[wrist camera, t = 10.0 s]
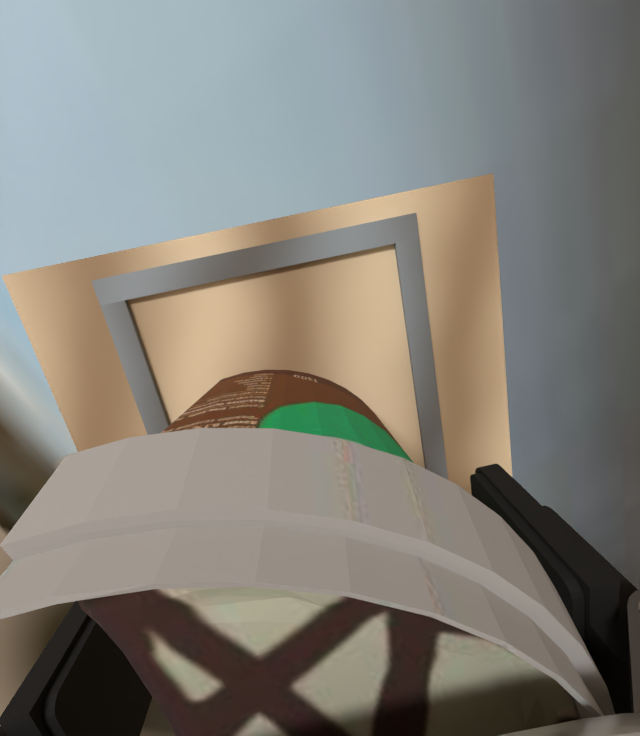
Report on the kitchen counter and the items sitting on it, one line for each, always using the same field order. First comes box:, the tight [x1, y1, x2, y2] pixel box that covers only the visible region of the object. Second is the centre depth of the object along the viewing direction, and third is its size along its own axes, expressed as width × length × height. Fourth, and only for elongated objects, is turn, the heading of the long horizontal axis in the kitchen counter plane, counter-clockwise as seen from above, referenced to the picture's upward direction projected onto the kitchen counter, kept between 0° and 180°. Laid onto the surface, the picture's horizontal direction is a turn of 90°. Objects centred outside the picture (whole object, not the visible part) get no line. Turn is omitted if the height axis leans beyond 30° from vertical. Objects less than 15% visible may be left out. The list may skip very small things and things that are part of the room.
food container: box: [0, 370, 615, 736], centre depth 9 cm, size 12×6×10 cm, turn 20°
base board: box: [2, 174, 512, 495], centre depth 15 cm, size 16×18×2 cm
